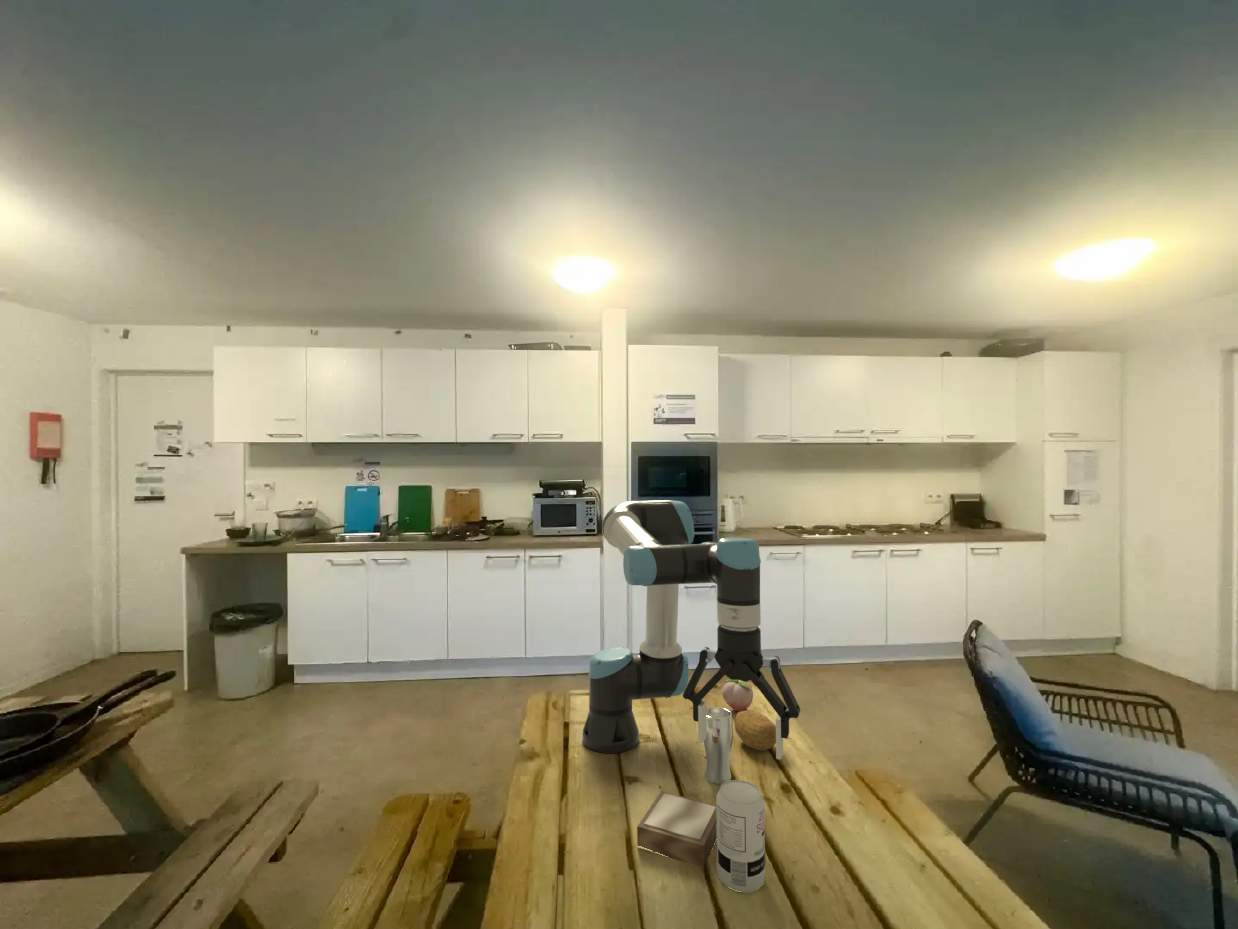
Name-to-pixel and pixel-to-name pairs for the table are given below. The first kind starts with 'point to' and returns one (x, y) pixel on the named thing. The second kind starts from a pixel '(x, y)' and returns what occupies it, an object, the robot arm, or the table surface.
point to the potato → (755, 730)
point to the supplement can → (740, 836)
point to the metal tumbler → (718, 744)
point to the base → (679, 828)
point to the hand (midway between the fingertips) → (740, 747)
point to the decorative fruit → (737, 694)
